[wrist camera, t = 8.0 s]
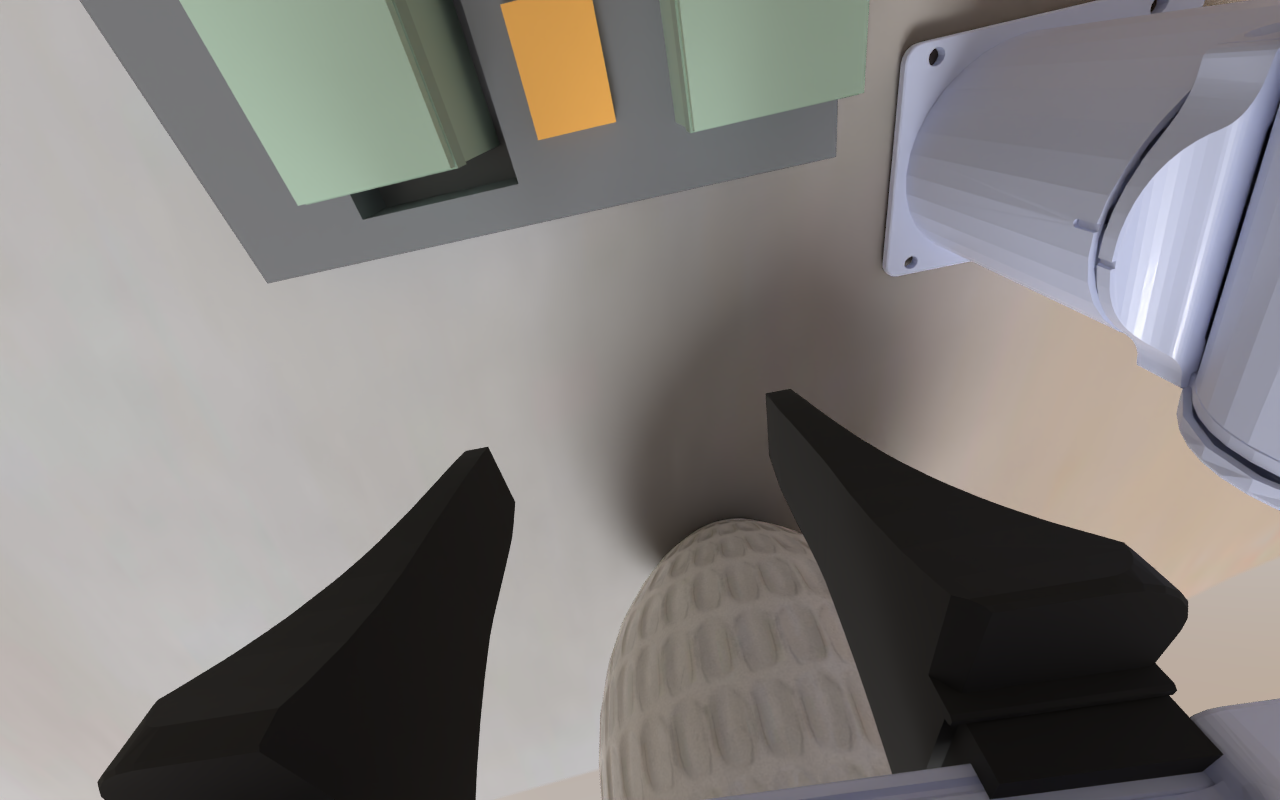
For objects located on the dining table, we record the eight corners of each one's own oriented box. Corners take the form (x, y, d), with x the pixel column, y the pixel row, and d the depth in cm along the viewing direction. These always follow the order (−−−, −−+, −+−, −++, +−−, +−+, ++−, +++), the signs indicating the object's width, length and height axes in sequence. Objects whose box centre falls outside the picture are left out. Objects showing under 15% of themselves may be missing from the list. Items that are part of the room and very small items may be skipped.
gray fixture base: (810, -171, 13) (952, -358, 8) (809, 148, 17) (898, 175, 12) (152, 6, 14) (-126, -44, 9) (305, 262, 19) (181, 331, 13)
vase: (600, 628, 34) (586, 1280, 15) (606, 455, 25) (591, 1505, 6) (817, 626, 35) (1047, 1225, 17) (896, 460, 26) (1582, 1350, 8)
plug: (452, -5, 14) (365, -57, 9) (501, 145, 16) (453, 170, 11) (326, 29, 14) (174, -3, 9) (391, 172, 17) (297, 208, 12)
